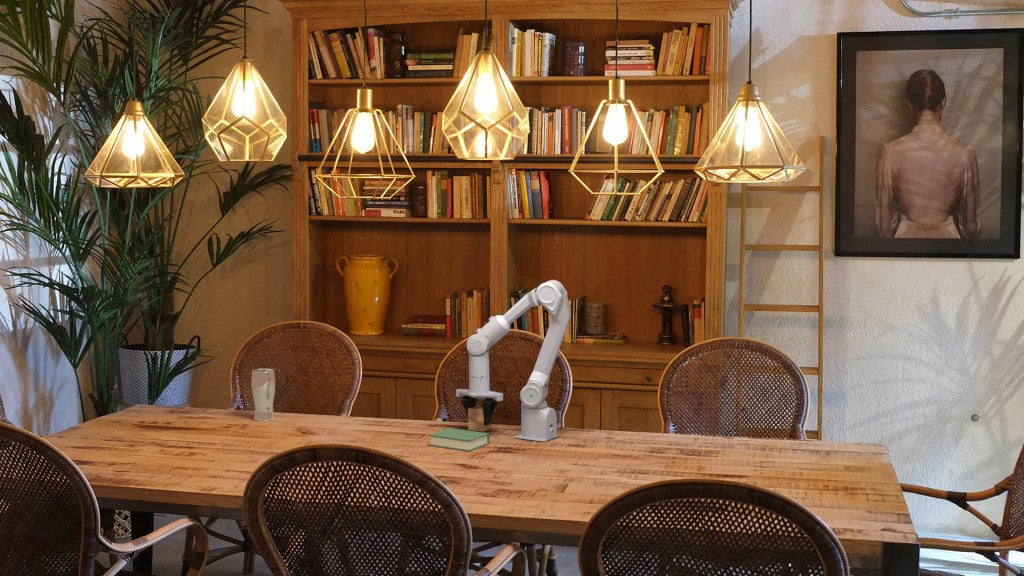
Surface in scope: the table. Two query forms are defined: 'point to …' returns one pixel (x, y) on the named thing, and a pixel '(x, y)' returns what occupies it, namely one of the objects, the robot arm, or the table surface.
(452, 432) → the green book
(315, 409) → the table surface
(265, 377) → the beer glass
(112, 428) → the table surface
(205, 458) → the table surface
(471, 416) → the brown wooden block
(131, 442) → the table surface
